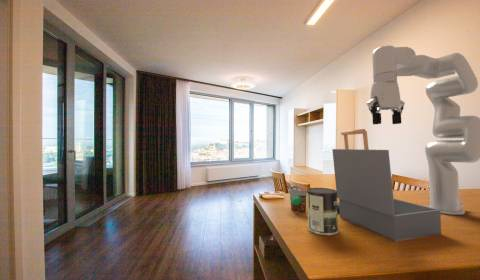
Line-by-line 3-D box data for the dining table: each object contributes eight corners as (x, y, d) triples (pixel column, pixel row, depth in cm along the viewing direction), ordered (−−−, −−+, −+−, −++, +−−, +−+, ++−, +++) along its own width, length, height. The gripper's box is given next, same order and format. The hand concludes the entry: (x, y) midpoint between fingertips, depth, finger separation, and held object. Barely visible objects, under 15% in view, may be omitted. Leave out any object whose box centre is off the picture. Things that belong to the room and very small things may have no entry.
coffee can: (337, 226, 79) (336, 188, 80) (339, 237, 70) (338, 194, 70) (308, 223, 83) (307, 186, 83) (306, 233, 73) (305, 192, 74)
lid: (332, 132, 90) (328, 132, 89) (386, 126, 66) (381, 127, 65) (338, 197, 90) (334, 198, 89) (395, 216, 66) (390, 217, 65)
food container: (285, 206, 106) (285, 186, 106) (297, 205, 107) (296, 185, 107) (293, 214, 94) (293, 191, 94) (307, 213, 94) (306, 191, 95)
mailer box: (377, 212, 94) (377, 194, 94) (441, 234, 71) (440, 210, 71) (339, 217, 89) (339, 198, 89) (395, 242, 66) (394, 216, 66)
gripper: (393, 83, 88) (395, 124, 88) (358, 81, 83) (360, 125, 83) (411, 77, 81) (414, 122, 80) (375, 75, 76) (377, 123, 76)
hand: (387, 123), depth 82 cm, fingers open, 9 cm apart
